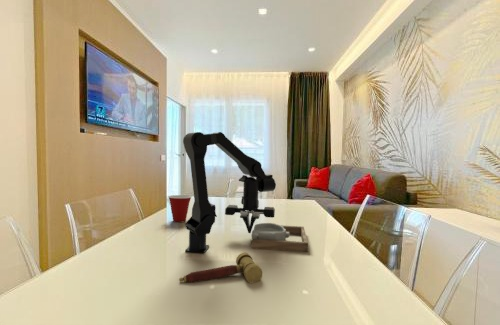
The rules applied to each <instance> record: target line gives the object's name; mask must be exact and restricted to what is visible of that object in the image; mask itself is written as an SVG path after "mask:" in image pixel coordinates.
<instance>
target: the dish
mask: <svg viewBox="0 0 500 325" xmlns="http://www.w3.org/2000/svg"><path fill="white" fill-rule="evenodd" d="M281 225H282V224H277V223H274V222H273V223H272V222H262V223H257V224H256V223H255V225H253V229H252V230H251V240H252V239H266V240H281V241H286V239H288V238H290V236H291V234H290V233H289V232H286V229H284V227H283V226H284V225H283V226H281Z"/></svg>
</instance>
